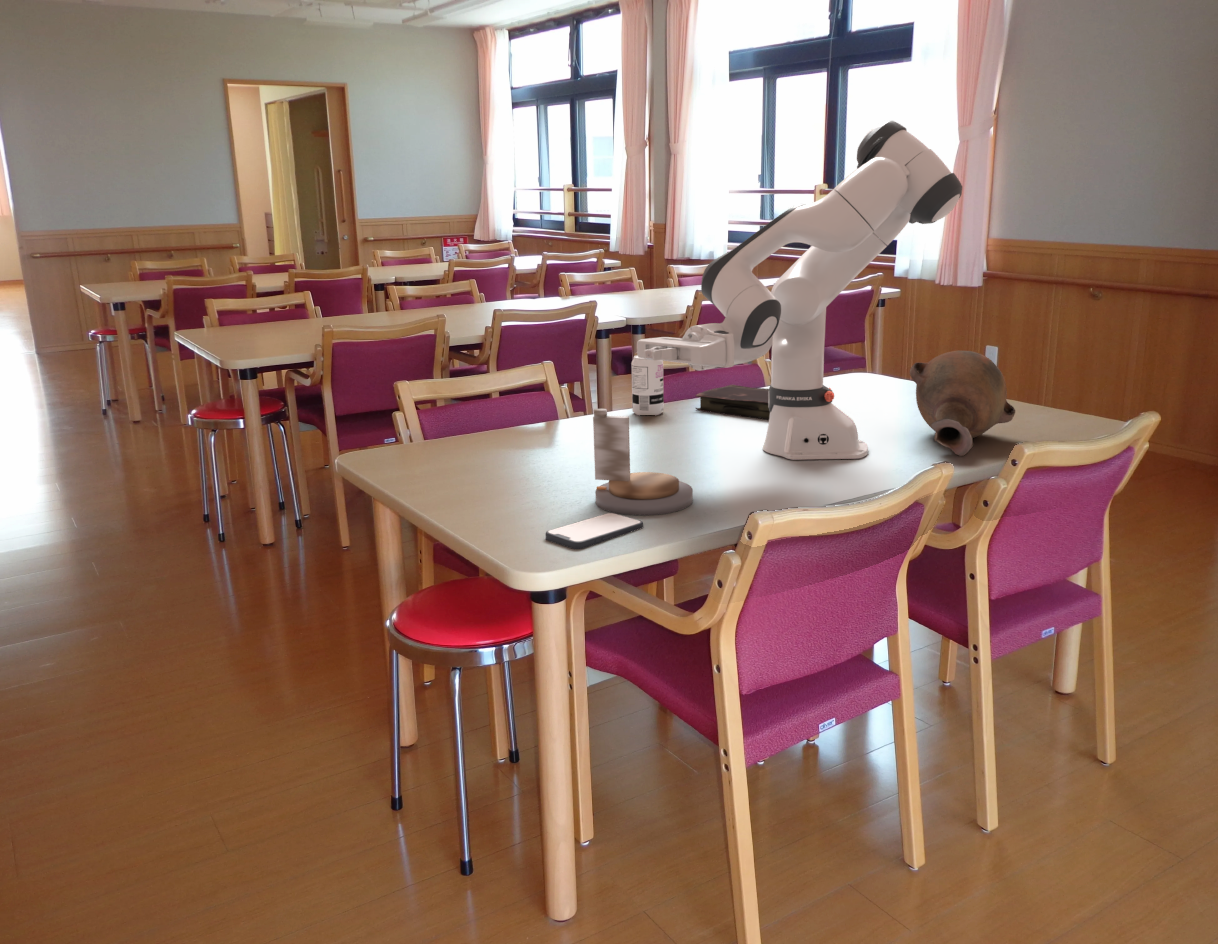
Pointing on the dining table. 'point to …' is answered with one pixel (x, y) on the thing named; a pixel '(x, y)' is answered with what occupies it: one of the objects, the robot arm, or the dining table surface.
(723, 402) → the diary
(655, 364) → the supplement can
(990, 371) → the jug
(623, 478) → the dial
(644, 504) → the dial base
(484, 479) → the dining table surface
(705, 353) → the robot arm
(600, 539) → the smartphone
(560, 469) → the dining table surface
